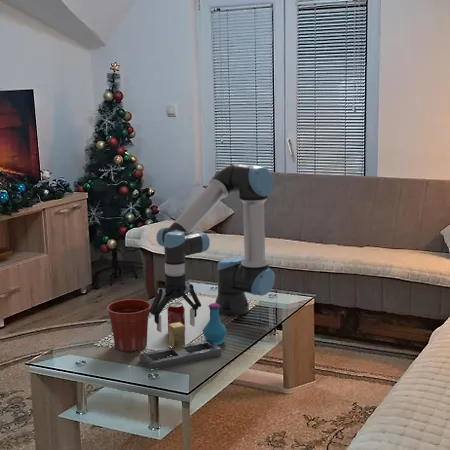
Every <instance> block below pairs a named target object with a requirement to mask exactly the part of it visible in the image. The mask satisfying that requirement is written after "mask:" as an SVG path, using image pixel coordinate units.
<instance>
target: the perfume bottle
mask: <svg viewBox="0 0 450 450" xmlns="http://www.w3.org/2000/svg"><path fill="white" fill-rule="evenodd" d="M219 307H220V305H219V304H217V303H215V302H214V303H210V304H209V305H208V310H209V321H208V322H207V324H206V325H205V326H204V328H203V329H202V335H203V336H204V338H205V341H206V340H210V341H211V342H213V343H214V344H215V345H217V346H218V345H222V344H223V343H224V340H225V337H226V335H227V332H228V331H227V328H226V326H225V325H224V324H223V323H222V322H221V320H220V314H219Z"/></svg>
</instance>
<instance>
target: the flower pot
mask: <svg viewBox="0 0 450 450" xmlns="http://www.w3.org/2000/svg"><path fill="white" fill-rule="evenodd" d="M151 306H152V303H150V302H149V301H147V300H144V299H137V298H129V299H126V298H125V299H121V300H115V301H113V302H111V303H109V304H108V305H107V306H106V309H107V311H108V317H109V319H110V322H111V323H110V324H111V331H112V335H113V336H112V337H113V343H114V348H115V349H116V350H118V351H121V352H125V353H126V352H127V353H130V352H136V351H137V350H140V351H141V350H143V349H144V348H146V347H147V345H148V331H149V330H148V327H149V316H150V312H149V310H150V308H151Z"/></svg>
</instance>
